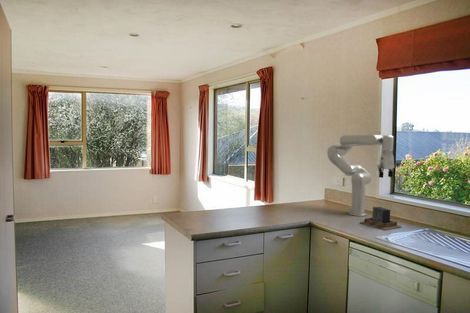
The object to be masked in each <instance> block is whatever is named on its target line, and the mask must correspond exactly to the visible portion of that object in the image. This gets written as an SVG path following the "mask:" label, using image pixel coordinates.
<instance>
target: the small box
mask: <svg viewBox="0 0 470 313" xmlns="http://www.w3.org/2000/svg"><path fill="white" fill-rule="evenodd" d="M371 214H372V217H371V218H372V220H374V221H378V222H381V223H390V220H391V209H388V208H385V207H381V206H372V213H371Z"/></svg>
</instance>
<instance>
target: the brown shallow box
mask: <svg viewBox="0 0 470 313" xmlns="http://www.w3.org/2000/svg"><path fill="white" fill-rule="evenodd" d="M359 224H361V225H365V226H369V227H372V228H375V229H379V230H382V229H383V231H390V230H394V229H395V230H396V229H402V226H401V225H398V222H397V221H394V220H392V219H390V223H381V222H378V221H374V220H372V217H366V218H364V220H363V221H360V222H359Z"/></svg>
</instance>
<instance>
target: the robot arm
mask: <svg viewBox="0 0 470 313" xmlns="http://www.w3.org/2000/svg"><path fill="white" fill-rule="evenodd" d="M361 146H381V153H380V159H379V163H378V165H377V171H378V178H384V170H388V171H387V172H388V174H387V177H388V178H393V176H394V173H393V172H394V170H395V167H396V165H395V159H394V158H395V157H394V154H393V153H394V136H393V135H389V134H387V135H384V134H344V135H341V136H340V138H339V145H337V144H334V145H331V146H329V147H328V149H327V151H326V152H327V153H326V154H327V158H328V160H329V161H330V162H331V163H332V164H333V165H334V166H335V167H336V168H337V169H338V170H340V171H341V172H342V173H343V174H344V175H345V176H347V177H351V178H350V180H351V181H350V182H351V202H350V203H351V204H350V206H349V207H348V208H347V211H348V214H349V215H351V216H356V217H366V216H367V212H365V207H366V206H365V204H366V186H365V185H369V184H370V183H372V180H373V178H372V175H371V174H370V172H368V170H366V169H365V168H364V167H363V166H361V165H360V164H358V163H357V162H356V163H351V162H349V161H348V160H346V158H344V157H343V156H345V155H347V154H348V152H350V151H351V149H353V148H354V147H361Z"/></svg>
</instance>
